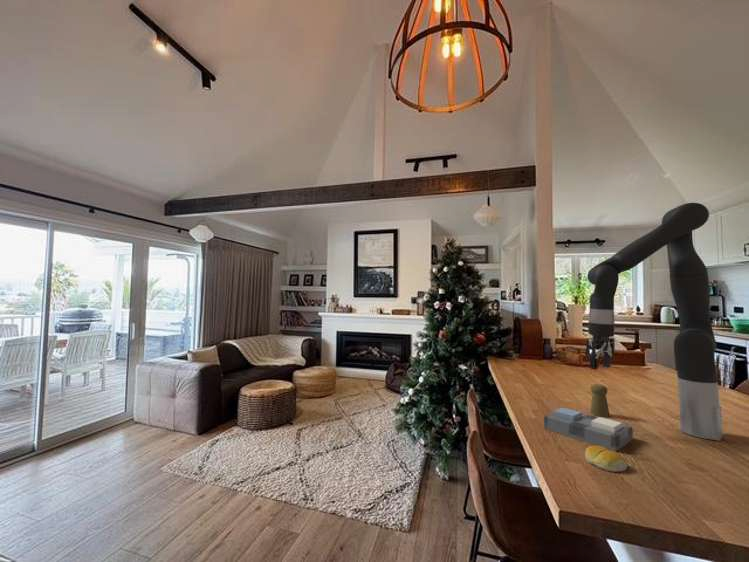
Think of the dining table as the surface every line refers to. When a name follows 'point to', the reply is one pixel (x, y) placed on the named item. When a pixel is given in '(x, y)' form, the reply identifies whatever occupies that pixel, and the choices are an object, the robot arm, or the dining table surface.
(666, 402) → the dining table surface
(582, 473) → the dining table surface
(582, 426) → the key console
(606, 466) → the bread roll
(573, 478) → the dining table surface
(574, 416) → the slate-blue key
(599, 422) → the ivory key
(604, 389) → the cork
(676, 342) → the robot arm
